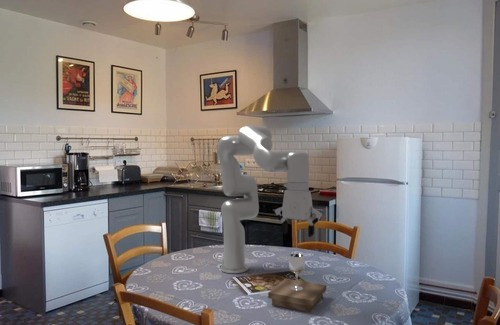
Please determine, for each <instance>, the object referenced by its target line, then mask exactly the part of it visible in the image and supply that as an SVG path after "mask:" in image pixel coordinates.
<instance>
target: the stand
mask: <svg viewBox="0 0 500 325" xmlns="http://www.w3.org/2000/svg"><path fill="white" fill-rule="evenodd" d="M297 284H298V286H300V287H302V288H303V290H300V291H295V290H292V289H291V287H292V286H296V279H293V278H292V279H291V278H284V279H283V280H282V281H281V282H280V283H278V284H277V285H275V286H273V288H272V289H271V290H270V291H268V292H267V294H268V296H267V299H269V300H270V299H271V305H272V306H276V307H278V306H279V307H281V308H282V307H283V308H288V309H293V310H297V311H302V312H308V313H312V311H313V310H314V309H315V307H316V306H317V305H318V304H319V303H320V301H322V299H323V296H324V294H325V292H326V291H327V285H326V284H321V283H316V282H309V281H303V280H298V279H297Z"/></svg>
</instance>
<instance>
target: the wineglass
mask: <svg viewBox="0 0 500 325" xmlns="http://www.w3.org/2000/svg"><path fill="white" fill-rule="evenodd" d="M288 268H289V271H290V272H292V273H294V274H295V280H296V286H292V287H291V289H292V290H295V291H300V290H303V288H302V287H300V286H298V284H297V280H298V278H299V274H301V273H302V272H303V271H304V270H305V268H306V261H305V256H304V254H302V253H291V254H290V255H289V259H288Z"/></svg>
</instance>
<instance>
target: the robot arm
mask: <svg viewBox="0 0 500 325" xmlns="http://www.w3.org/2000/svg"><path fill="white" fill-rule="evenodd" d="M216 148H217V157H218V160H219V164H220V170H221V183H222V191H223V194H224V195H225V196H227V197H238V196H239V197H241V196H243V198H233V199H227V200H225V201H224V202H223V203H222V205H221V207H220V212H221V213H220V214H221V217H222V223H223V224H222V225H223V228H222V229H223V257H218V258H217V260H216V263H217V264H221V266H220V271H221V272H223V273H227V274H241V273H245V272H247V271H248V270H249V265H248V264H247V263H246V232H245V227H244V225H243V223H241V221H243V220H244V221H245V220H251V219H255V218H257V217H258V214H259V211H260V210H259V209H260V204H259V193H258V183H257V181H256V179H255V177H254V176H253V175H251V174H241V165H240V162H239V161H238V159H237V158H236V157H235V156H244V155H245V156H250V155H253V160H254V161H255V163H256V164H257V165H258V166H259V167H260V168H262V169H263V170H264V171H266V172H269V173H278V172H287V173H286V174H287V176H286V177H287V178H286V179H287V181H286V182H284V183H283V187H285V188H286V190H284V194H283V200H282V206H281V207H278V208H276V209H274V213H275V215H276V217H277V219H278V220H279V222H280V223H281V232H282V234H283V235H285V234H288V232H289V231H288V228H289V226H288V225H289V224H288V220H297V221H306V222H307V223H308V224H309V225H308V226H307V227H308V228H307V229H308V231H307V232H308V233H307V235H308V236H307V237H308V238H312V236H314V234H315V225H316V224H317V223H318V222H319V221H320V219H321V217H322V216H323V213H322V212H320V211H319V210H318V209H315V208H314V207H313V199H312V194H311V191H310V190H309V188H310V186H309V184H310V180H309V178H310V177H309V176H310V175H309V173H310V172H309V170H310V169H309V167H310V164H309V163H310V160H309V159H310V157H309V154H308V152H304V151H291V150H273V151H272V148H273V141H272V132H271V130H270V129H269V128H268V127H267V126H264V125H244V126H243V127H241V128H240V129H239V130H238V132H237V135H227V136H223V137H221V138H220V139H219V140H218V143H217V146H216ZM281 212H282V213H281ZM313 214H315V218H314V217H313V216H314V215H313Z"/></svg>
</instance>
